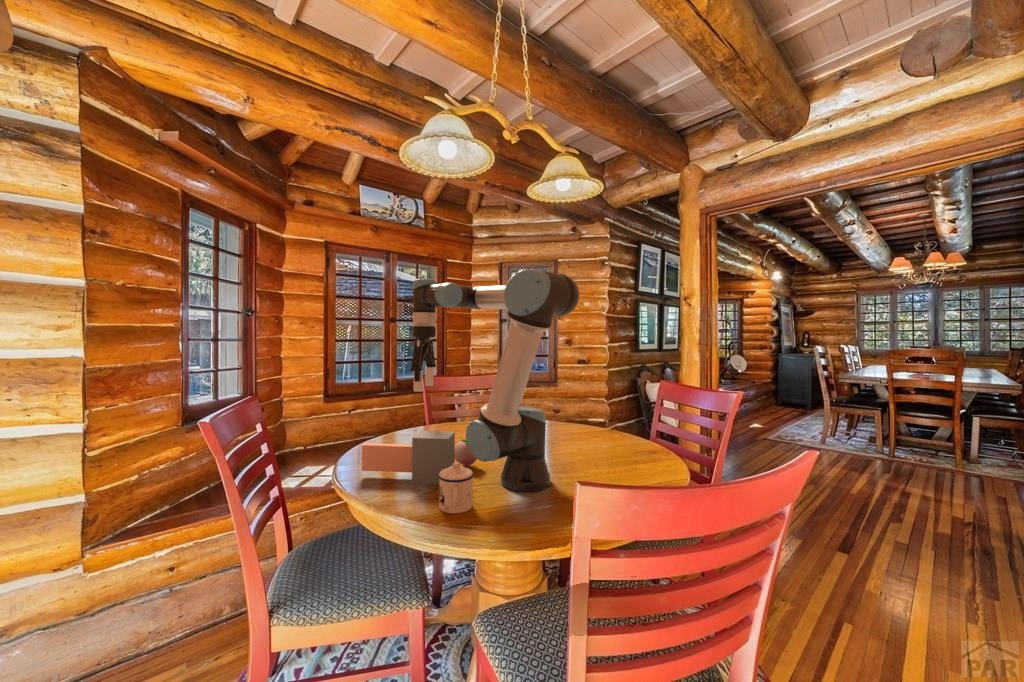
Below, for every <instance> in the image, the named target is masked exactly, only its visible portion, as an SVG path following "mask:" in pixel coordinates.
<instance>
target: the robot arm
mask: <svg viewBox="0 0 1024 682" xmlns="http://www.w3.org/2000/svg"><path fill="white" fill-rule="evenodd" d="M436 283H437V282H436V280H435V279H430V278H417V279H415V280H413V285H412V286H413V288H412V315H411V318H412V324H413V327H412V337H413V338H417V339H416V340H414V349H413V353H412V360H411V365H410V366H411V367H410V371H411V372H413V392H417V393H418V392H419V393H420V392H421V393H422V392H423V387H424V386H423V383H424V382H425V384H424V385H425V387H433V386H434V368H436V367H437V364H436V360H435V353H434V352H435V351H434V339H431V338H435V337H436V335H437V334H436V333H437V332H436V330H437V327H436V326H435V325H436V324H437V316H436V315H437V312H436V309H437V308H453V309H468V310H469V309H470V310H507V311H508V312H507V315H506V316H507V318H508V320H509V323H510V326H509V329H508V333H507V337H506V339H505V343H504V347H503V350H502V355H501V357H500V361H499V364H498V368H497V372H496V375H495V378H494V383H493V386H492V389H491V393H490V395H489V400H488V402H487V403H486V404H483V405H482V406H481V408H480V411H479V414H478V418H477V419H474V420H472V421H470V422H469V423H468V424H467V426H466V428H465V429H466V430H465V439H466V441H467V444H468V447H469V449H470V451H471V453H472V454H473V455H474V456H475V457H476V458H477V461H481V462H483V463H487V462H491V461H492V462H494V461H497V460H499V459H503V458H506V459H505V462H504V465H503V469H502V471H501V473H500V483H501V484H500V485H502V486H503V487H504V488H506V489H509V490H510V491H515V492H516V491H517V492H523V493H524V492H525V493H526V492H527V493H529V492H531V491H532V492H539V491H542V489H543V490H545V489H548V488H549V487H550V485H551V474H550V472H549V468H548V466H547V462H546V424H547V421H546V413H545V412H544V411H543V410H542V409H539V408H534V407H528V406H521V403H522V400H523V398H524V395H525V391H526V388H527V385H528V381H529V378H530V376H531V372H532V368H533V364H534V362H535V360H536V356H537V352H538V348H539V345H540V342H541V340H542V339H541V338H542V336H543V334H544V332H546V331H548V330H550V329H551V327H552V323H553V320H554V318H558V317H559V318H560V317H565V316H567V315H569V314H571V313H572V312H573V311H574V310H575V309H576V307H577V306H578V304H579V300H580V290H579V287H578V284H577V283H576V282H575V280H574V279H573V278H572V277H570V276H568V275H567V274H564V273H557V272H554V271H553V272H551V271H548V270H543V269H538V268H524V269H523V268H522V269H520V270H518V271H517V272H515V273H514V274H513V275H511V277H509V279H508V281H507V283H506V285H487V286H486V285H485V286H483V285H482V286H470V285H469V286H468V285H458V284H457V283H455V282H447V281H446V282H443V283H437V284H436ZM424 362H425V368H424V370H425V372H424V376H423V370H422V369H423V364H424ZM423 377H424V381H423ZM548 486H549V487H548ZM532 492H531V493H532Z"/></svg>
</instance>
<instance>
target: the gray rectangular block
mask: <svg viewBox="0 0 1024 682" xmlns="http://www.w3.org/2000/svg"><path fill="white" fill-rule="evenodd" d="M455 434H456V433H455V431H447V430H442V431H439V430H420V431H418V432H417V433H416V434H415V435H414V436H412V439H411V440H412V441H411V443H412V444H411V445H412V473H411V484H412V485H426V484H427V485H428V486H429V485H431V486H439V473H440V472H441V471H442V470H444V469H446V468H449V467H451V466H452V464H453V463H454V462H455V458H454V456H455V445H456V442H455V441H456V439H455V438H456V437H455V436H456V435H455Z"/></svg>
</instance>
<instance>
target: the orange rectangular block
mask: <svg viewBox="0 0 1024 682" xmlns="http://www.w3.org/2000/svg"><path fill="white" fill-rule="evenodd" d="M361 471H362V472H387V473H388V472H389V473H411V474H412V444H408V443H407V444H405V443H400V444H399V443H378V442H377V443H373V442H365V443H363V444H361Z"/></svg>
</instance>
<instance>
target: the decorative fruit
mask: <svg viewBox="0 0 1024 682" xmlns="http://www.w3.org/2000/svg"><path fill="white" fill-rule="evenodd" d="M454 461H455V462H458V463H460V465H461V466H463V467H464V468H468V467H469V466H472V465H474V463H476V461H478V459H477V458H476V457H475V456H474V455H473V454H472V453H471V451H470V449H469V447H468V444H467V441H466V438H461V439H460V441H458V442H457V443H455V456H454Z"/></svg>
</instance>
